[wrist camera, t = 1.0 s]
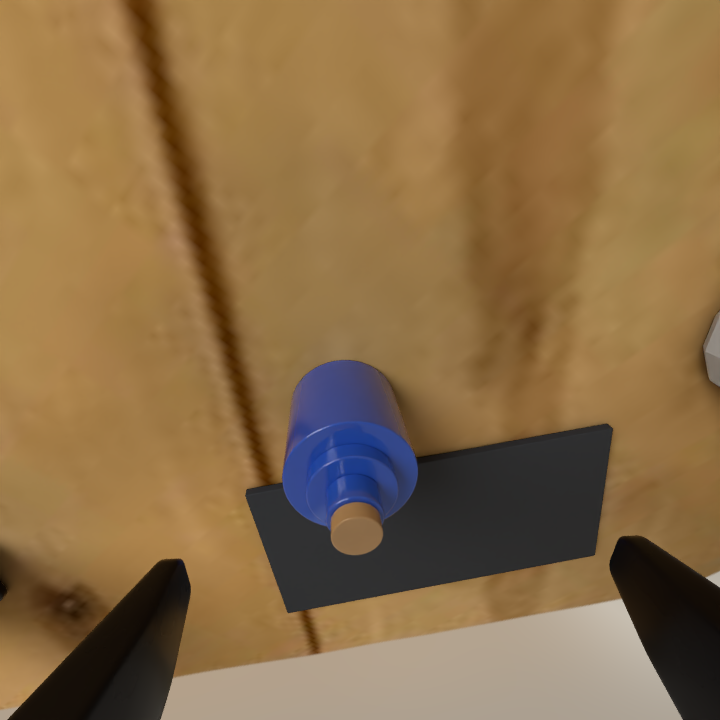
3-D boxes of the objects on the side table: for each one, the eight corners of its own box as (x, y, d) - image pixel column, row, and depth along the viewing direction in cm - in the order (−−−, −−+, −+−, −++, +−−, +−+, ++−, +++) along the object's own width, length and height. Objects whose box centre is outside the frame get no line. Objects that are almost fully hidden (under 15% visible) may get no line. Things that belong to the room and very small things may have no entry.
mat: (288, 606, 26) (287, 613, 26) (246, 488, 22) (244, 495, 21) (590, 549, 26) (595, 555, 26) (607, 423, 22) (613, 428, 22)
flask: (303, 457, 21) (295, 603, 14) (280, 369, 19) (256, 490, 12) (400, 439, 21) (442, 576, 14) (388, 350, 19) (431, 458, 12)
